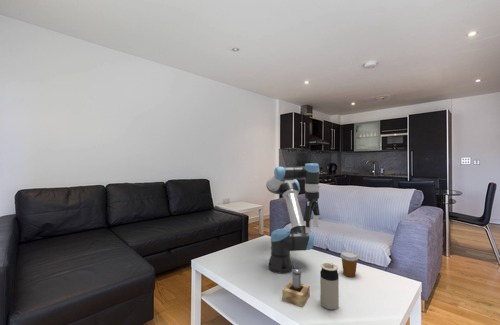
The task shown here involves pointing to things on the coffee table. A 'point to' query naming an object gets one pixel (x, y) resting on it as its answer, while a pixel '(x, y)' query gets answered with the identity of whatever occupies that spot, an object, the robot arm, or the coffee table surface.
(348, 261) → the disposable coffee cup
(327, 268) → the travel mug
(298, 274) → the metal canister
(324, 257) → the coffee table surface
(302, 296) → the square frame
